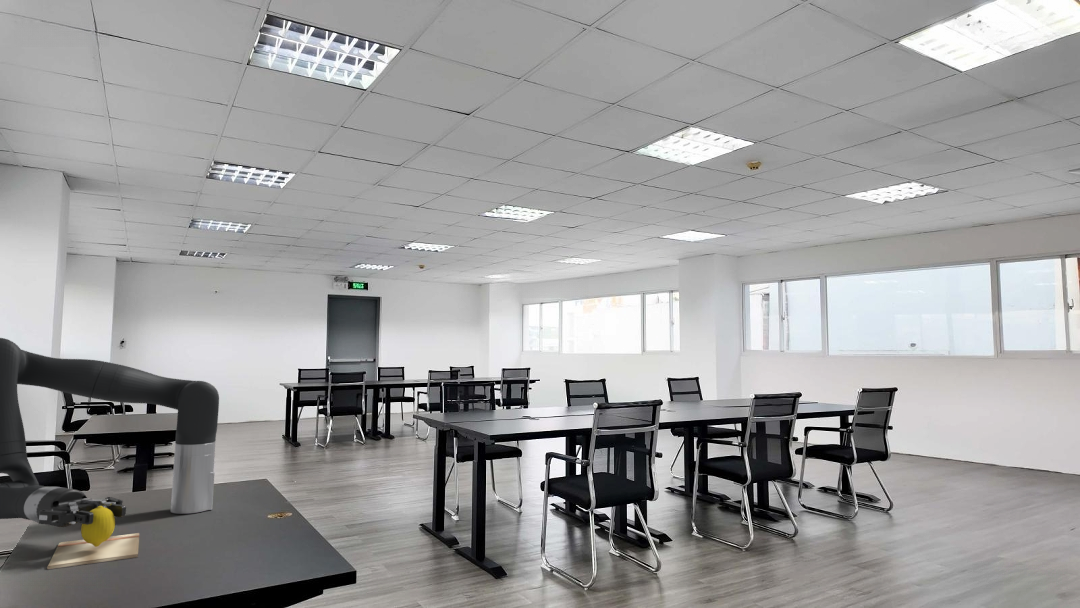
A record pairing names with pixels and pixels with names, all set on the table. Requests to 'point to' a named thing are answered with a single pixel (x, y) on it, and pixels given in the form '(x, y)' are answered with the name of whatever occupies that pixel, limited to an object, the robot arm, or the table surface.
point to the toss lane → (95, 551)
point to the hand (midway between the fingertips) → (107, 515)
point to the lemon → (99, 526)
